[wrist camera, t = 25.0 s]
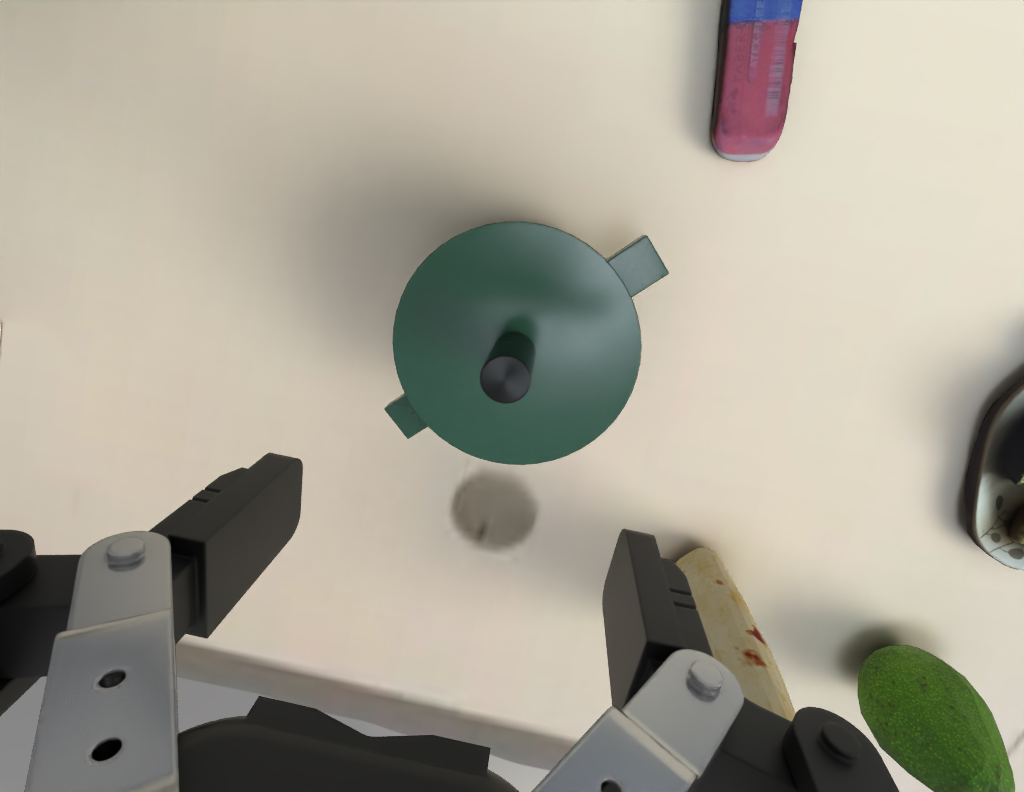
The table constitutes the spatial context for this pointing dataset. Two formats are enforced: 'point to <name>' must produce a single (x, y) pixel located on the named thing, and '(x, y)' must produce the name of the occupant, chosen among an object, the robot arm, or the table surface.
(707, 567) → the food model
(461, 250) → the lid
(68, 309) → the table surface
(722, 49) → the eraser
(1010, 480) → the salad plate
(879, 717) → the avocado
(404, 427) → the pot
